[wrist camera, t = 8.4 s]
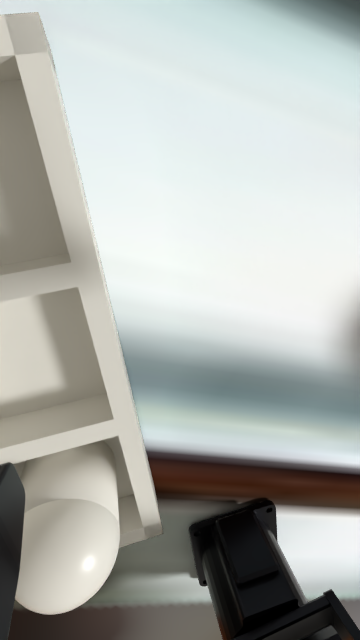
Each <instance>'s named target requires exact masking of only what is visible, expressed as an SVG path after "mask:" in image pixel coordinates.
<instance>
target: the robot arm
mask: <svg viewBox="0 0 360 640" xmlns="http://www.w3.org/2000/svg"><path fill="white" fill-rule="evenodd" d="M24 512H25V489H24V486H23V484H22V482H21V479H20V477H19V475H18V473H17V470H16V468H15V466H14V465H13V464H12V463H10V462H7V463H3V464H0V640H7V639H8V634H9V628H10V623H11V617H12V611H13V606H14V601H15V595H16V590H17V584H18V578H19V572H20V563H21V551H22V538H23V525H24ZM189 534H190V539H191V544H192V549H193V555H194V560H195V565H196V570H197V575H198V580H199V584H200V585H201V586H207V585H208V589H209V592H210V596H211V599H212V603H213V607H214V610H215V614H216V617H217V621H218V624H219V628H220V631H221V635H222V639H223V640H360V630H359V629H358V627H357V626H356V624H355V623H354V622H353V620H352V619H351V617H350V616H349V614H348V613H347V611H346V610H345V608H344V607H343V605H342V604H341V602H340V601H339V599H338V598H337V597H336V595H335V594H334V592H333V591H332V589H330V590H328V591H326V592H324V593H323V594H324V595H322V596H320V597H318V598H316V599H314V600H312V601H310V602H308V601H307V599H306V598H305V596H304V594H303V592H302V590H301V588H300V586H299V584H298V582H297V580H296V578H295V576H294V574H293V572H292V570H291V568H290V566H289V564H288V562H287V560H286V558H285V556H284V554H283V553H282V551H281V549H280V547H279V545H278V543H277V524H276V507H275V505H274V503H273V502H272V501H270V500H268V501H264V502H261V503H258V504H255V505H252V506H249V507H246V508H243V509H239V510H236V511H233V512H230V513H227V514H224V515H221V516H218V517H215V518H211V519H208V520H205V521H202V522H199V523H196V524H193V525H192V526H191V527H190V528H189Z"/></svg>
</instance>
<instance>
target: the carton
mask: <svg viewBox="0 0 360 640" xmlns="http://www.w3.org/2000/svg"><path fill="white" fill-rule="evenodd" d="M7 462H10V463H12V464H13V465H14V466H15V468H16V470H17V473H18V475H19V477H20V479H21V482H22V484H23V486H24V489H25V512H24V525H23V538H22V551H21V563H20V572H19V578H18V584H17V590H16V595H15V599H16V600H17V601H18V602H19V603H20V604H21V605H23V606H24V607H26V608H27V609H29V610H31V611H34V612H37V613H41V614H59V613H64V612H67V611H70V610H72V609H74V608H76V607H78V606H80V605H82V604H83V603H85V602H86V601H87V600H89V599H90V598H91V597H92V596H93V595H94V594H95V593H96V592H97V591H98V590H99V589H100V588H101V586H102V585H103V584H104V582H105V581H106V579H107V578H108V576H109V574H110V572H111V571H112V568H113V566H114V564H115V561H116V557H117V554H118V549H119V548H121V547H124V546H127V545H130V544H133V543H136V542H139V541H143V540H146V539H149V538H152V537H155V536H158V535H161V534H163V529H162V523H161V518H160V513H159V508H158V503H157V497H156V492H155V488H154V484H153V479H152V475H151V471H150V467H149V462H148V458H147V454H146V450H145V445H144V441H143V437H142V433H141V429H140V424H139V420H138V416H137V412H136V407H135V403H134V399H133V395H132V391H131V386H130V382H129V378H128V374H127V369H126V365H125V361H124V357H123V353H122V348H121V344H120V340H119V336H118V331H117V327H116V323H115V319H114V314H113V310H112V306H111V302H110V298H109V293H108V289H107V285H106V281H105V276H104V272H103V268H102V264H101V260H100V255H99V251H98V247H97V243H96V238H95V234H94V230H93V226H92V221H91V217H90V213H89V209H88V205H87V200H86V196H85V192H84V188H83V183H82V179H81V175H80V171H79V167H78V162H77V158H76V154H75V150H74V145H73V141H72V137H71V133H70V129H69V124H68V120H67V116H66V112H65V107H64V103H63V99H62V95H61V90H60V86H59V82H58V78H57V74H56V69H55V65H54V61H53V57H52V52H51V49H50V46H49V43H48V40H47V37H46V34H45V31H44V28H43V25H42V22H41V19H40V16H39V13H38V12H34V13H19V14H5V15H0V464H3V463H7Z"/></svg>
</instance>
